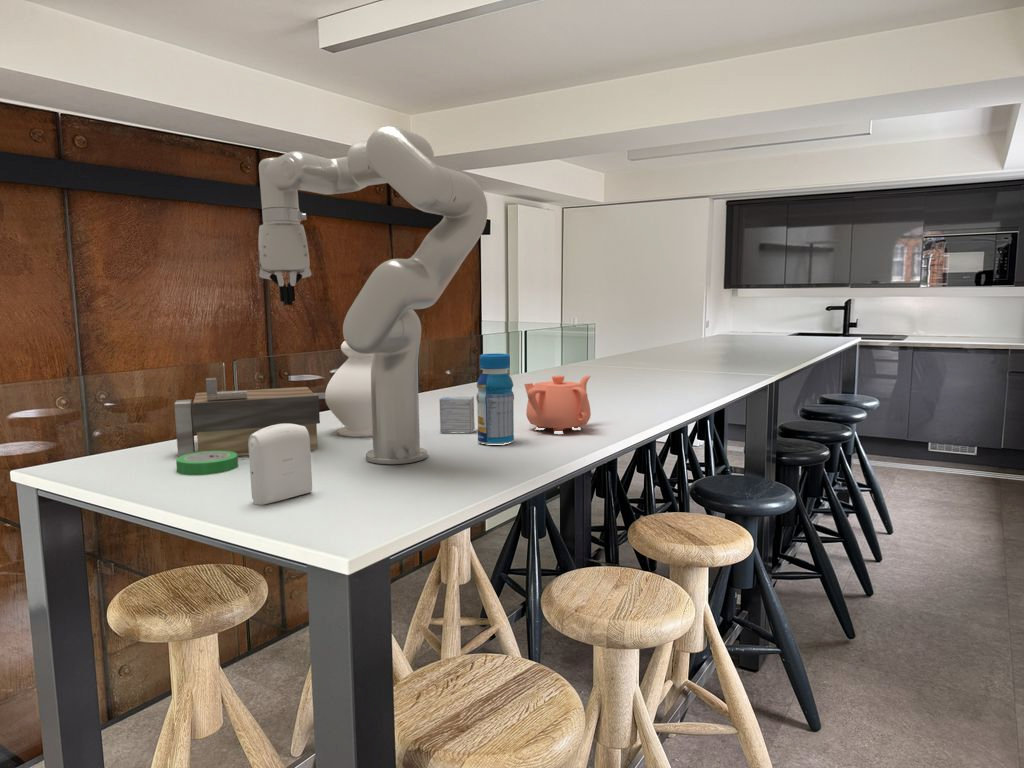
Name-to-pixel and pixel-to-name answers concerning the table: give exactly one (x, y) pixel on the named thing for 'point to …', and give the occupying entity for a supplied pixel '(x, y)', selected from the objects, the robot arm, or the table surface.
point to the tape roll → (207, 462)
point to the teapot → (558, 403)
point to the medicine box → (457, 414)
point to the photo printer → (279, 463)
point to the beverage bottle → (495, 400)
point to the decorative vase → (352, 394)
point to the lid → (256, 410)
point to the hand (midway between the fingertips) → (288, 304)
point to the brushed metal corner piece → (213, 394)
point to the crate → (217, 434)
